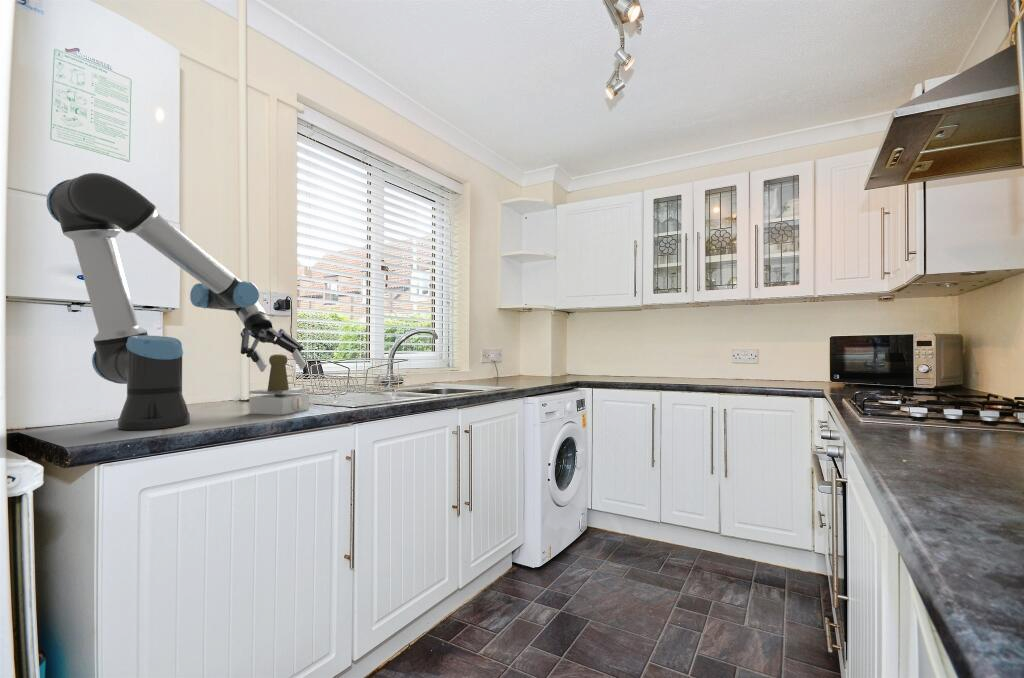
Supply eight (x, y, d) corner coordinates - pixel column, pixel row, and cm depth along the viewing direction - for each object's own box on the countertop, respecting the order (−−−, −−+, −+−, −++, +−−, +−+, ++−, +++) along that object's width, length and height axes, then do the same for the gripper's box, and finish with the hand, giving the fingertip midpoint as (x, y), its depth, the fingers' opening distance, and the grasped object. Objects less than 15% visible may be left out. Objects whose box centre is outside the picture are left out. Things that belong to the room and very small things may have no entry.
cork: (292, 388, 155) (292, 354, 155) (282, 390, 149) (282, 354, 149) (274, 388, 155) (274, 354, 155) (263, 390, 149) (263, 354, 149)
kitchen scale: (284, 414, 145) (284, 394, 145) (249, 413, 148) (249, 393, 148) (311, 409, 157) (311, 390, 157) (277, 408, 160) (277, 390, 160)
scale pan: (282, 394, 145) (282, 391, 145) (249, 393, 148) (249, 391, 148) (309, 390, 157) (309, 388, 157) (277, 389, 160) (277, 387, 160)
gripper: (285, 329, 171) (313, 373, 164) (211, 328, 150) (240, 378, 142) (294, 314, 169) (323, 357, 161) (221, 310, 147) (251, 360, 139)
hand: (284, 367), depth 151 cm, fingers open, 13 cm apart
